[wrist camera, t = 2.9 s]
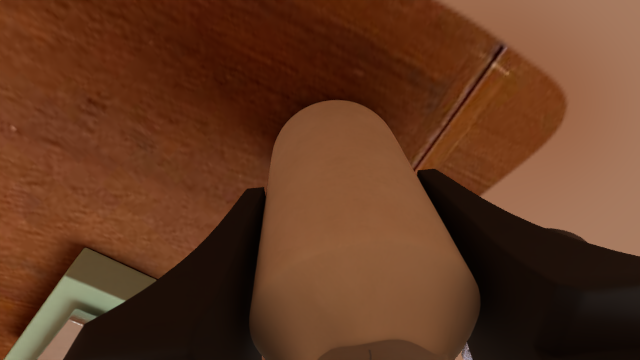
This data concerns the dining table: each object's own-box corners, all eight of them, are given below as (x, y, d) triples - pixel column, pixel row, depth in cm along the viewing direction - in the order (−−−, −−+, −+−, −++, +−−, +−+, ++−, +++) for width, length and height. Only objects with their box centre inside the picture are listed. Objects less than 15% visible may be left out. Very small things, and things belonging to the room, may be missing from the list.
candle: (366, 217, 17) (431, 457, 9) (259, 191, 16) (216, 439, 8) (416, 119, 15) (576, 330, 6) (292, 80, 14) (281, 273, 5)
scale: (244, 319, 22) (239, 352, 20) (165, 387, 25) (155, 421, 24) (85, 246, 18) (60, 279, 16) (18, 339, 22) (-8, 374, 20)
